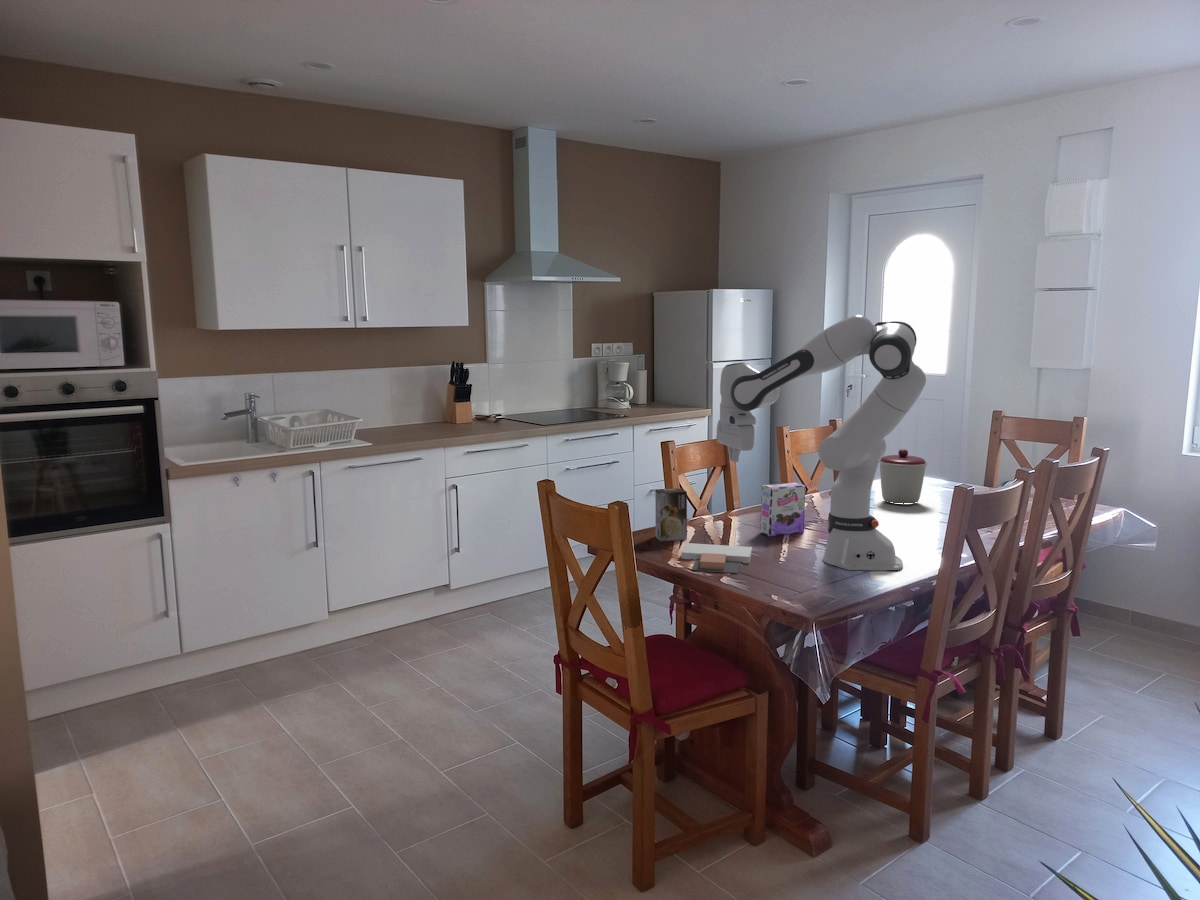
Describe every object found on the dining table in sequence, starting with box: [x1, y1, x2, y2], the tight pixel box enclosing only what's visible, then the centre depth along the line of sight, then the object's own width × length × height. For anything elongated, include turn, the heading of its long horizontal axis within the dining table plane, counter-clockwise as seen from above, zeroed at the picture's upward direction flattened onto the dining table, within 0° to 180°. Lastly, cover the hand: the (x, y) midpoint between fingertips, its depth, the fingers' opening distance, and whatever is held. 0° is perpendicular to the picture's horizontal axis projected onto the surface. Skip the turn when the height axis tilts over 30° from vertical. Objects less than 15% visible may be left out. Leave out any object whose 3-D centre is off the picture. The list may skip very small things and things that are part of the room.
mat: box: [690, 559, 742, 575], centre depth 247 cm, size 13×11×1 cm
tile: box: [700, 553, 726, 569], centre depth 248 cm, size 7×9×2 cm
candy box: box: [759, 482, 806, 537], centre depth 285 cm, size 14×6×16 cm, turn 112°
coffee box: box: [654, 487, 688, 542], centre depth 278 cm, size 9×6×16 cm
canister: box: [879, 448, 929, 504], centre depth 331 cm, size 18×18×21 cm
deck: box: [681, 542, 753, 564], centre depth 258 cm, size 20×11×2 cm, turn 76°
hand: (733, 461), depth 261 cm, fingers closed
